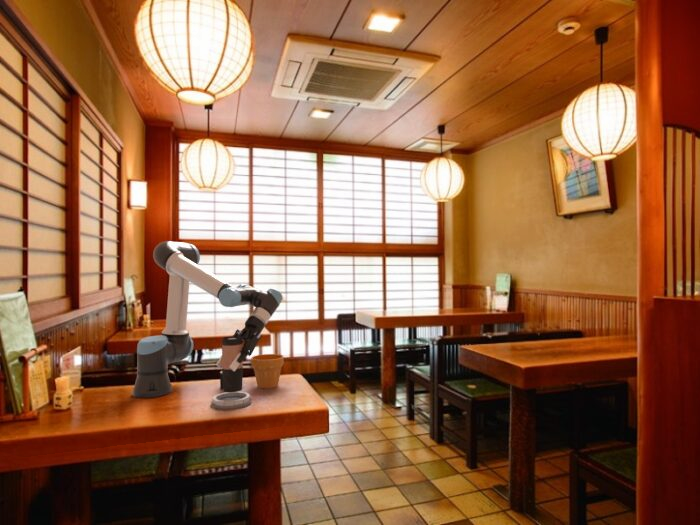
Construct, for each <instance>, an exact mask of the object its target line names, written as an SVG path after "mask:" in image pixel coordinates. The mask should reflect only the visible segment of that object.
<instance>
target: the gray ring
mask: <svg viewBox="0 0 700 525" xmlns="http://www.w3.org/2000/svg"><path fill="white" fill-rule="evenodd" d="M251 404H252V397H251V394H250V393H248V392H246V391H238V392H222V393H221V392H220V393H217V394H216V395H214V396H213V397H212V400H211V401H210V407H211V408H212V407H213V409H214V408H215V409H214V410H218V409H220V411H229V410H230V409H233V410H238V408H239V409H243V408H247V407H248V406H250V405H251ZM230 411H231V410H230Z"/></svg>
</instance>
